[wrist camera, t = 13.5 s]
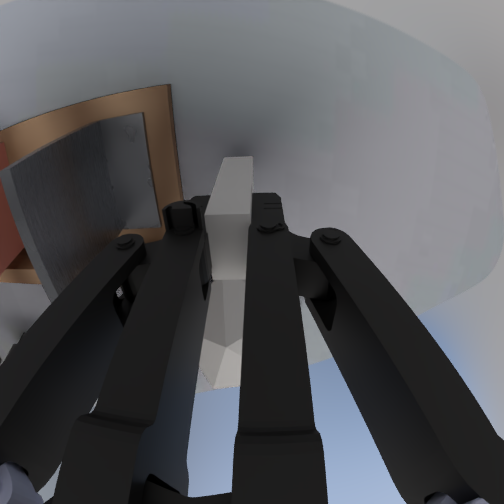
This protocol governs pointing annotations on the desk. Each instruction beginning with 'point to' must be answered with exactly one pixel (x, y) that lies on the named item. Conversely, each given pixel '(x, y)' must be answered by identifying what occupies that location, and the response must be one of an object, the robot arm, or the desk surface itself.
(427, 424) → the robot arm
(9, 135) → the shelf
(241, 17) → the desk surface
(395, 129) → the desk surface
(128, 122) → the bookend
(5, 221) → the book
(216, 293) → the die
